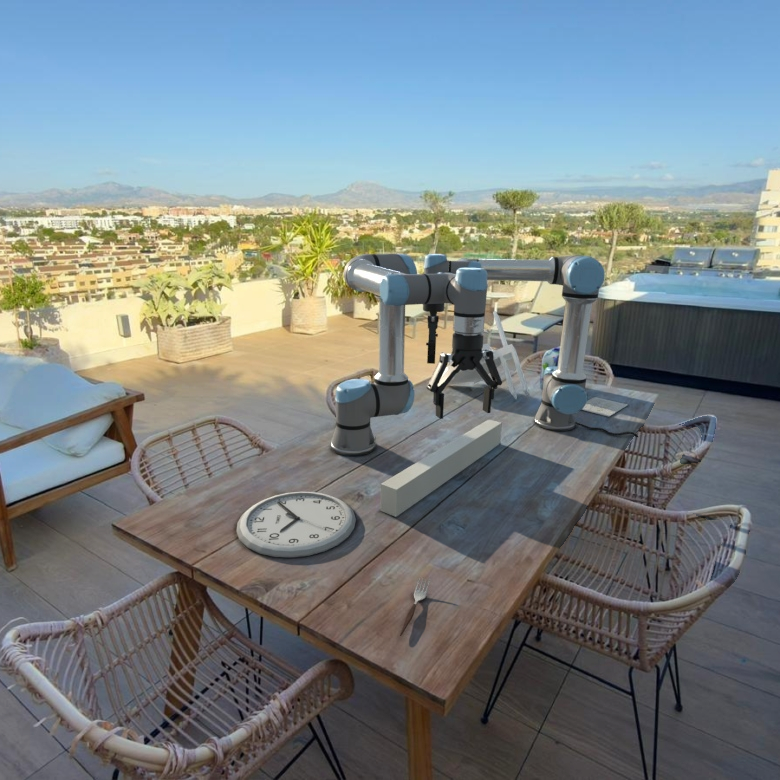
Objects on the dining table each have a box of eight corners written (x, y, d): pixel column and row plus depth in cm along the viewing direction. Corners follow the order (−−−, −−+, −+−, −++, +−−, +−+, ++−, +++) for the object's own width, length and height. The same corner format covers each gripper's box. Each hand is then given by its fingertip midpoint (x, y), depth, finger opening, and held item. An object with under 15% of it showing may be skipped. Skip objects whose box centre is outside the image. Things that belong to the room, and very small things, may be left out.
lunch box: (556, 397, 237) (562, 352, 231) (535, 392, 244) (540, 348, 238) (583, 386, 255) (589, 344, 248) (562, 381, 262) (567, 340, 256)
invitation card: (608, 416, 214) (573, 407, 224) (608, 416, 214) (573, 408, 224) (628, 404, 229) (594, 396, 238) (628, 405, 229) (594, 397, 238)
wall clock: (357, 549, 121) (224, 553, 118) (357, 555, 121) (224, 559, 118) (354, 487, 149) (247, 489, 147) (354, 492, 150) (247, 495, 147)
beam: (486, 440, 189) (488, 419, 186) (500, 443, 186) (501, 422, 183) (380, 510, 140) (380, 483, 138) (395, 517, 138) (396, 489, 135)
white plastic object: (461, 429, 252) (437, 405, 227) (444, 352, 274) (420, 323, 250) (535, 404, 240) (518, 377, 215) (510, 326, 262) (492, 293, 237)
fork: (393, 636, 97) (393, 627, 97) (418, 584, 112) (419, 576, 111) (406, 640, 96) (407, 631, 96) (430, 587, 111) (430, 579, 110)
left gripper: (428, 338, 120) (424, 424, 127) (520, 332, 129) (512, 413, 135) (415, 332, 127) (412, 414, 133) (503, 327, 136) (497, 404, 142)
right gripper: (424, 295, 195) (422, 350, 201) (421, 304, 171) (419, 366, 178) (444, 295, 195) (441, 351, 201) (444, 305, 171) (441, 367, 177)
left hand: (463, 414), depth 134 cm, fingers open, 13 cm apart
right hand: (431, 358), depth 189 cm, fingers open, 13 cm apart
